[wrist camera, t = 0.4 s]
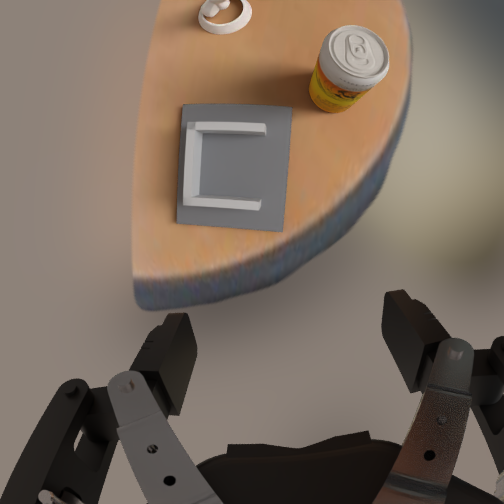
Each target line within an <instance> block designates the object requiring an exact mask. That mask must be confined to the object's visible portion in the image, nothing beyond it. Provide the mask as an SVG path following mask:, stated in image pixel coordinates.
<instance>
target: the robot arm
mask: <svg viewBox="0 0 504 504" xmlns="http://www.w3.org/2000/svg"><path fill="white" fill-rule="evenodd" d="M381 325H382V326H381V327H382V335H383V338H384V340H385V342H386V344H387V346H388V348H389V350H390V352H391V354H392V356H393V358H394V360H395V362H396V364H397V366H398V368H399V370H400V372H401V374H402V376H403V378H404V381H405V383H406V385H407V387H408V389H409V391H410V393H414V392H418V391H421V392H422V394H423V395H422V398H421V400H420V403H419V406H418V408H417V411H416V413H415V416H414V418H413V421H412V423H411V426H410V428H409V430H408V433H407V435H406V437H405V439H404V441H403V443H402V446H401V445H399V444H396V443H393V442H390V441H384V440H376V439H371V438H370V435H369V431H364V432H358V433H353V434H347V435H342V436H335V437H332V438H330V439H327V440H324V441H322V442H319V443H316V444H313V445H310V446H307V447H303V448H289V447H281V446H274V445H267V444H228V447H227V453H226V454H222V455H218V456H215V457H212V458H210V459H207V460H205V461H203V462H201V463H200V464H198V465H196V466H195V464H194V463H193V462H192V460H191V459H190V457H189V455H188V454H187V452H186V451H185V449H184V448H183V446H182V445H181V443H180V441H179V440H178V438H177V436H176V435H175V433H174V432H173V430H172V428H171V427H170V425H169V423H168V421H167V419H168V416H169V415H177V416H179V414H180V411H181V408H182V405H183V401H184V398H185V394H186V391H187V388H188V384H189V381H190V378H191V374H192V371H193V368H194V364H195V361H196V358H197V344H196V340H195V336H194V333H193V329H192V326H191V323H190V319H189V316H188V314H187V313H169V314H168V315H167V317H166V319H165V320H164V322H163V324H162V325H161V326H157V327H156V328H154V329H153V330H152V331H151V332H150V333H149V335H148V336H147V338H146V340H145V343H143V345H142V347H141V349H140V351H139V353H138V354H137V356H136V358H135V360H134V362H133V364H132V365H131V367H130V369H129V371H124V372H121V373H119V374H117V375H115V376H114V377H113V378H112V379H111V380H110V381H109V383H108V386H106V387H99V388H93V389H90V388H89V386H88V384H87V383H86V382H85V381H84V380H82V379H71V380H69V381H67V382H65V383H63V384H62V385H61V386H60V387H59V389H58V391H57V392H56V394H55V395H54V397H53V398H52V400H51V402H50V403H49V405H48V407H47V409H46V410H45V412H44V414H43V416H42V417H41V419H40V421H39V422H38V424H37V426H36V428H35V430H34V431H33V433H32V435H31V437H30V439H29V441H28V443H27V444H26V446H25V448H24V450H23V452H22V454H21V456H20V458H19V460H18V462H17V464H16V466H15V468H14V470H13V472H12V474H11V476H10V479H9V481H8V483H7V485H6V487H5V490H4V492H3V494H2V497H1V499H0V504H98V501H99V498H100V494H101V491H102V488H103V485H104V482H105V478H106V475H107V472H108V469H109V466H110V463H111V460H112V457H113V454H114V451H115V448H116V445H117V442H118V440H120V441H121V443H122V446H123V449H124V451H125V454H126V456H127V459H128V461H129V463H130V465H131V468H132V470H133V472H134V475H135V477H136V479H137V481H138V483H139V485H140V488H141V490H142V492H143V494H144V496H145V498H146V500H147V502H148V503H147V504H504V394H503V393H504V336H500V337H497V338H496V339H495V340H494V341H493V344H492V346H491V349H480V350H474V349H473V347H472V346H471V345H470V344H469V343H468V342H467V341H465V340H463V339H460V338H451V336H450V335H449V334H448V332H447V331H446V330H445V329H444V327H443V326H442V325H441V323H440V322H439V321H438V320H437V319H436V317H435V316H434V315H433V314H432V313H431V311H430V310H429V309H428V307H426V305H425V304H423V303H422V302H420V301H418V300H416V299H414V300H412V299H411V298H410V296H409V295H408V294H407V293H406V291H405V290H403V289H402V290H396V291H389V292H386V293H385V296H384V306H383V315H382V324H381ZM470 407H471V409H472V411H473V413H474V415H475V417H476V419H477V422H478V424H479V426H480V428H481V430H482V433H483V435H484V437H485V439H486V442H487V444H488V447H489V449H490V452H491V454H492V457H493V459H494V461H495V464H496V467H497V470H498V472H499V477H498V479H497V482H496V490H495V492H494V496H493V495H491V494H489V493H487V492H485V491H483V490H481V489H479V488H477V487H475V486H473V485H471V484H469V483H467V482H465V481H463V480H461V479H459V478H458V477H456V476H454V475H452V473H453V470H454V467H455V464H456V461H457V458H458V454H459V451H460V448H461V444H462V441H463V437H464V433H465V429H466V425H467V420H468V416H469V411H470ZM80 430H81V431H82V432H83V434H82V437H81V439H80V441H79V443H78V446H77V448H76V450H75V451H74V442H75V440H76V438H77V435H78V433H79V431H80Z"/></svg>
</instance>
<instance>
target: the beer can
mask: <svg viewBox="0 0 504 504" xmlns="http://www.w3.org/2000/svg"><path fill="white" fill-rule="evenodd" d="M388 68H389V54H388V50H387V47H386V45H385V44H384V42H383V41H382V39H381V38H380V37H379V36H378V35H376V34H375V33H374V32H372V31H371V30H369V29H367V28H364V27H361V26H356V25H347V26H343V27H340V28H338V29H335V30H333V31H331V32H330V33H329V34H328V35H327V36H326V37H325V39H324V41H323V44H322V47H321V50H320V53H319V56H318V59H317V63H316V66H315V69H314V72H313V75H312V78H311V81H310V84H309V93H310V96H311V99H312V100H313V102H314V103H315V104H316V105H317V106H318V107H319V108H321V109H322V110H324V111H327V112H331V113H340V112H343V111H346V110H347V109H349V108H350V107H351V106H352V105H353V104H354V103H355V102H357V101H358V100H359V99H360V98H361V97H362V96H363V95H365V94H366V93H367V92H368V91H369V90H370V89H371V88H373V87H374V86H375V85H376V84H377V83H378V82H379V81H381V80H382V79H383V78H384V77H385V75H386V74H387V71H388Z"/></svg>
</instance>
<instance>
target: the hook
mask: <svg viewBox="0 0 504 504" xmlns="http://www.w3.org/2000/svg"><path fill="white" fill-rule="evenodd" d="M240 1H241V2H242V4H243V11H242V13H241V15H240V16H239V17H238V18H237V19H236V20H234V21H232V22H230V23H226V24H213V23H210V22H208V21H207V20H206V19H205V18H204V16H203V15H205V16H206V17H213V16H215V15H216V14H217V13H218V12H219V10H223V9H226V8H227V7H228V6H229V4H230V2H229V0H207V1H206V2H205V3H204V4H203V5H202V6H201V9H200V11H199V16H198V19H199V23H200V25H201V27H202V28H203V29H205V30H206V31H208V32H210V33H213V34H229V33H232V32H235V31H237V30H239V29H241V28H242V27H244V26H245V25H246V24H247V23H248V21H249V20H250V18H251V15H252V9H251V6H250V4H249V3H248V2H247V1H246V0H240Z"/></svg>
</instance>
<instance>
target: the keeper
mask: <svg viewBox="0 0 504 504" xmlns="http://www.w3.org/2000/svg"><path fill="white" fill-rule="evenodd" d="M291 121H292V107H285V106H271V105H253V104H183V110H182V122H181V135H180V150H179V167H178V190H177V224H190V225H203V226H216V227H228V228H240V229H252V230H263V231H274V232H283V223H284V212H285V200H286V188H287V176H288V163H289V150H290V136H291Z"/></svg>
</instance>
